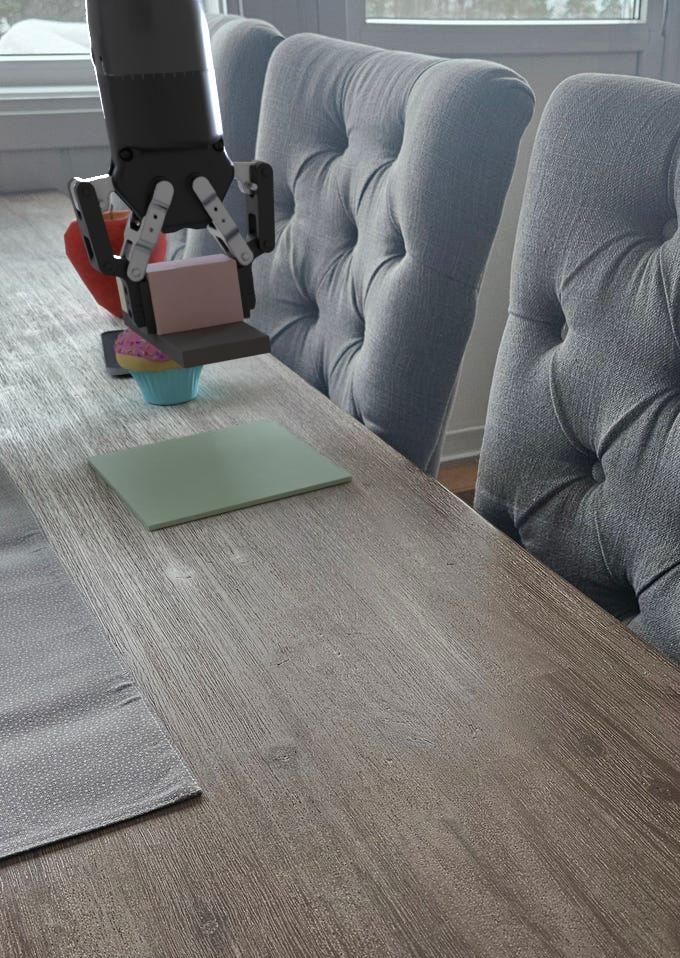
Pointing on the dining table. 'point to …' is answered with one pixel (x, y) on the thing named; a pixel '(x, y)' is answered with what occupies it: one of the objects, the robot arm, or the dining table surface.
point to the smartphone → (111, 352)
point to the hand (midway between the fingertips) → (196, 323)
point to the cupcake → (156, 371)
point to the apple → (115, 222)
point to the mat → (214, 472)
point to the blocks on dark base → (198, 312)
